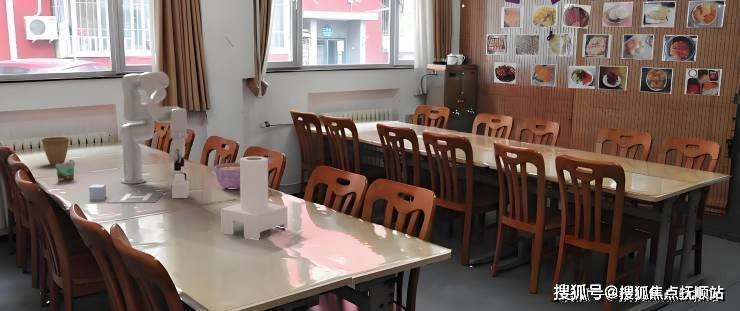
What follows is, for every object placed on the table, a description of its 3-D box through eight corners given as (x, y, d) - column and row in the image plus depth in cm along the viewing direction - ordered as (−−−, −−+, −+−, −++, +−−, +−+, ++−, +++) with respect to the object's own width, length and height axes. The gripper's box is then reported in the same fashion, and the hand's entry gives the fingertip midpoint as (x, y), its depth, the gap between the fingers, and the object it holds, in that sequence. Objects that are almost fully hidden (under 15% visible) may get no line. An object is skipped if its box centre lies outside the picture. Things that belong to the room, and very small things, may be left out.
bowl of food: (260, 186, 350) (260, 165, 348) (238, 193, 332) (237, 171, 330) (230, 182, 359) (229, 161, 357) (206, 189, 341) (205, 167, 339)
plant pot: (75, 163, 404) (74, 138, 401) (52, 167, 391) (51, 140, 389) (61, 161, 412) (59, 135, 409) (38, 164, 399) (36, 138, 397)
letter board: (118, 192, 330) (118, 192, 330) (164, 192, 333) (164, 191, 333) (107, 203, 308) (106, 202, 308) (155, 202, 311) (155, 202, 311)
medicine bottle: (174, 195, 326) (173, 171, 324) (189, 195, 327) (188, 171, 325) (171, 198, 319) (171, 174, 317) (186, 198, 320) (186, 174, 318)
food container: (66, 182, 351) (65, 164, 349) (56, 182, 352) (55, 163, 350) (81, 178, 362) (80, 160, 361) (71, 177, 364) (70, 159, 362)
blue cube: (93, 196, 321) (92, 184, 320) (106, 196, 322) (105, 184, 321) (89, 199, 315) (89, 187, 314) (102, 199, 316) (102, 187, 315)
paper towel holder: (256, 241, 254) (255, 164, 249) (221, 233, 264) (219, 159, 259) (287, 230, 270) (287, 158, 265) (253, 222, 280) (252, 153, 275)
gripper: (173, 131, 326) (174, 164, 329) (167, 136, 309) (168, 172, 312) (189, 131, 327) (189, 165, 330) (184, 137, 310) (184, 172, 313)
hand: (179, 168), depth 321 cm, fingers open, 9 cm apart
